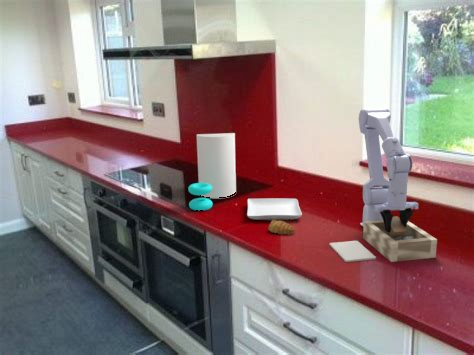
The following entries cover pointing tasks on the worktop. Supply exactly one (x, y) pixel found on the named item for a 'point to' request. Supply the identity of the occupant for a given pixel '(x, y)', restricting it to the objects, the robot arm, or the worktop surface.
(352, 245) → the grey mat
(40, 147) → the worktop surface
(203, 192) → the donuts
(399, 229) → the walnut bar
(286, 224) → the pastry
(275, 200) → the salad plate
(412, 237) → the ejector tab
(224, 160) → the cylinder
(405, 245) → the pocket board
